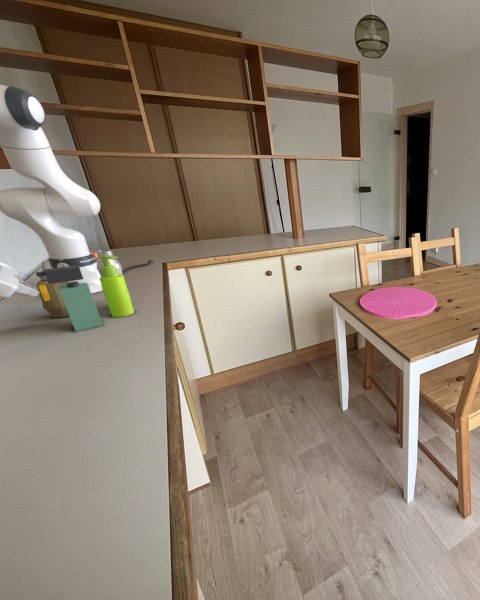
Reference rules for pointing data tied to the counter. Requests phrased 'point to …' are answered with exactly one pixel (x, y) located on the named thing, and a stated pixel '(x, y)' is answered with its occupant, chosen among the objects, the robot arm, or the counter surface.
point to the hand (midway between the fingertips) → (38, 293)
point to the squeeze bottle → (53, 295)
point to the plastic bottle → (113, 262)
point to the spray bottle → (74, 296)
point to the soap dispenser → (115, 289)
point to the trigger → (44, 292)
